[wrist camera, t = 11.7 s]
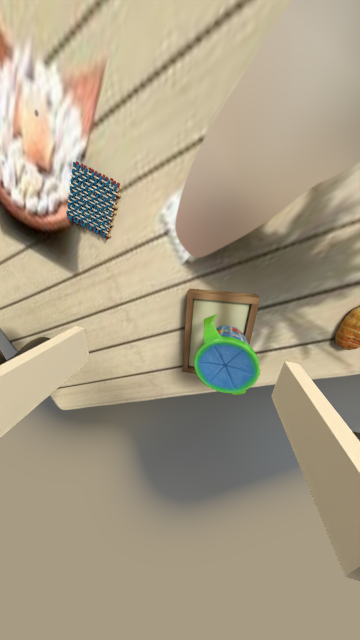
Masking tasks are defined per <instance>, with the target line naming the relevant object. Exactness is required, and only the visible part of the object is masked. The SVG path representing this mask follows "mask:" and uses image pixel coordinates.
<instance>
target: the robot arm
mask: <svg viewBox="0 0 360 640" xmlns="http://www.w3.org/2000/svg"><path fill="white" fill-rule="evenodd" d="M89 361H90V358H89V351H88V345H87V338H86V332H85V328H82V327H76V326H75V327H73V328H71V329H69V330H67V331H65V332H63V333H61V334H59V335H58V336H56V337H54V338H52V339H50V338H46V337H39V338H36V339H34V340H32V341H30V342H29V343H27V344H26V345H25V346H24V347H23V348H22V349H21V350H20V351H19V352H18V353H16V355H15V356H13V357H12V358H10V359H8V360H6V359H5V357H4V355H3V354H2V352H1V351H0V437H1V436H3V435H4V434H5V433H6V432H7V431H8V430H10V428H12V427H13V426H14V425H15V424H16V423H18V422H19V421H20V420H21V419H22V418H23V417H25V416H26V415H27V414H28V413H29V412H31V411H32V410H33V409H34V408H35V407H36V406H37V405H39V404H40V403H41V402H42V401H43V400H44V399H46V398H47V397H48V396H49V395H50V394H51V393H53V392H54V391H55V390H56V389H57V388H58V387H60V386H61V385H62V384H63V383H64V382H65V381H67V380H68V379H69V378H70V377H71V376H72V375H74V374H75V373H76V372H77V371H78V370H79V369H81V368H82V367H83V366H84V365H85V364H86V363H88V362H89ZM271 397H272V399H273V402H274V404H275V407H276V409H277V412H278V414H279V416H280V419H281V421H282V424H283V426H284V429H285V431H286V433H287V436H288V438H289V441H290V443H291V445H292V448H293V450H294V453H295V455H296V458H297V460H298V463H299V465H300V467H301V470H302V472H303V475H304V477H305V479H306V482H307V484H308V487H309V489H310V492H311V494H312V497H313V499H314V501H315V504H316V506H317V509H318V511H319V513H320V516H321V518H322V521H323V523H324V526H325V528H326V531H327V533H328V535H329V538H330V540H331V543H332V545H333V547H334V550H335V552H336V555H337V557H338V560H339V562H340V565H341V567H342V569H343V572H344V574H345V576H346V577H348V578H351V579H355V580H358V581H360V433H357V432H353V431H351V430H350V428H349V427H348V426H347V424H346V423H345V422H344V421H343V420H342V418H341V417H340V416H339V414H338V413H337V412H336V411H335V409H334V408H333V407H332V405H331V404H330V403H329V402H328V400H327V399H326V398H325V397H324V395H323V394H322V393H321V391H320V390H319V389H318V388H317V386H316V385H315V384H314V383H313V381H312V380H311V379H310V377H309V376H308V375H307V374H306V372H305V371H304V370H303V369H302V367H301V366H300V365H299V364H297V363H291V362H284V365H283V367H282V370H281V372H280V375H279V377H278V380H277V383H276V385H275V388H274V390H273V393H272V395H271Z"/></svg>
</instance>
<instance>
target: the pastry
mask: <svg viewBox="0 0 360 640" xmlns="http://www.w3.org/2000/svg"><path fill="white" fill-rule="evenodd" d="M335 341H336V343H337V344H338V345H340V346H341V347H343V348H345V349H347V350H351V349H356V348H359V347H360V306H359V307H357V308H355V309H353V310H352V311H351V312H350V313H349V314H348V315H346V317H345V319H344V320H343V322H342V323H341V325H340V327H339V328H338V330H337V332H336V336H335Z"/></svg>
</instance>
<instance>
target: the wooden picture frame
mask: <svg viewBox="0 0 360 640" xmlns="http://www.w3.org/2000/svg"><path fill="white" fill-rule="evenodd" d="M259 301H260V298H259V297H258V296H257V295H256V294H246V293H234V292H222V291H210V290H199V289H189V291H188V292H187V307H186V323H185V338H184V353H183V369H182V371H183V372H189V373H195V374H196V371H195V367H194V356H195V355H196V353H197V351H198V349H199V348H200V346H201V345H202V344H203V343H204V321H203V320H204V319H205V318H208V317H210V316H213V315H216V314H217V315H218V316H217V317H216V318H215V328H216V329H217V328H218V327H220V326H232V327H235V328H237V329H239V330H240V331H241V332H242V333H243V335H244V336H245V338H246V340H247V342H248V344H250V339H251V335H252V331H253V327H254V322H255V318H256V314H257V310H258V305H259Z"/></svg>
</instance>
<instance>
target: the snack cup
mask: <svg viewBox="0 0 360 640" xmlns="http://www.w3.org/2000/svg"><path fill="white" fill-rule="evenodd" d="M217 316H218V315H217V314H216V315H213V316H210V317H208V318H205V319H204V320H203V321H204V343H203V344H202V345H201V346H200V348H199V349H198V351H197V353H196V355H195V356H194V367H195V371H196V374H197V375H198V377H199V378H200V380H201V381H202V382H203V383H204V384H206V385H207V386H208V387H210V388H212V389H214V390H216V391H220V392H224V393H231V394H233V395H237V394H243V393H246V389H248V388H250V387H251V386H252V385H253V384H254V383H255V382H256V381H257V379H258V376H259V375H260V367H259V361H258V357H257V355H256V354H255V352H254V350H253V349H252V348H251V347H250V346H249V344H248V342H247V340H246V338H245V336H244V335H243V333H242V332H241V331H240V330H239V329H237V328H235V327H232V326H220V327H218V328H217V329H216V328H215V318H216V317H217Z"/></svg>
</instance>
